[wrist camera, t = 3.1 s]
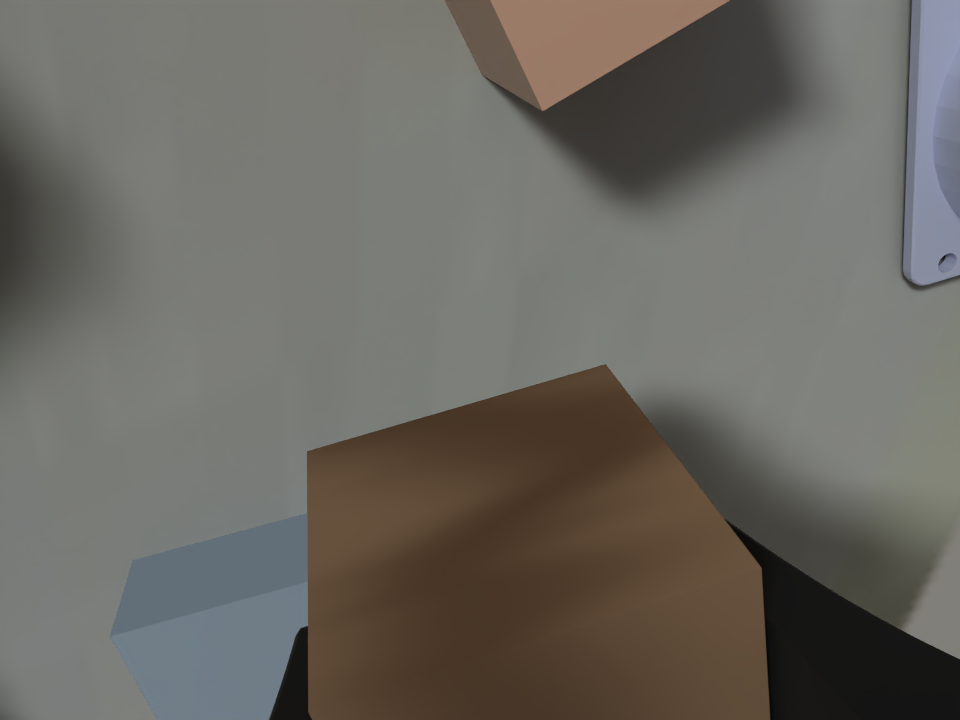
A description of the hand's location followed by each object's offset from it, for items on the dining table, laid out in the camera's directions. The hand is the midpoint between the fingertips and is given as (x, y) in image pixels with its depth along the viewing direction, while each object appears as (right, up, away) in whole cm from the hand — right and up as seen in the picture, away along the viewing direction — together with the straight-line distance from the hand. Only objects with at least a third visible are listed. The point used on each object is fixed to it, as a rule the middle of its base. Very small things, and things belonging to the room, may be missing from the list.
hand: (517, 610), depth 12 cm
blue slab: (-6, -3, +10) cm, 12 cm away
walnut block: (0, +1, +2) cm, 2 cm away
